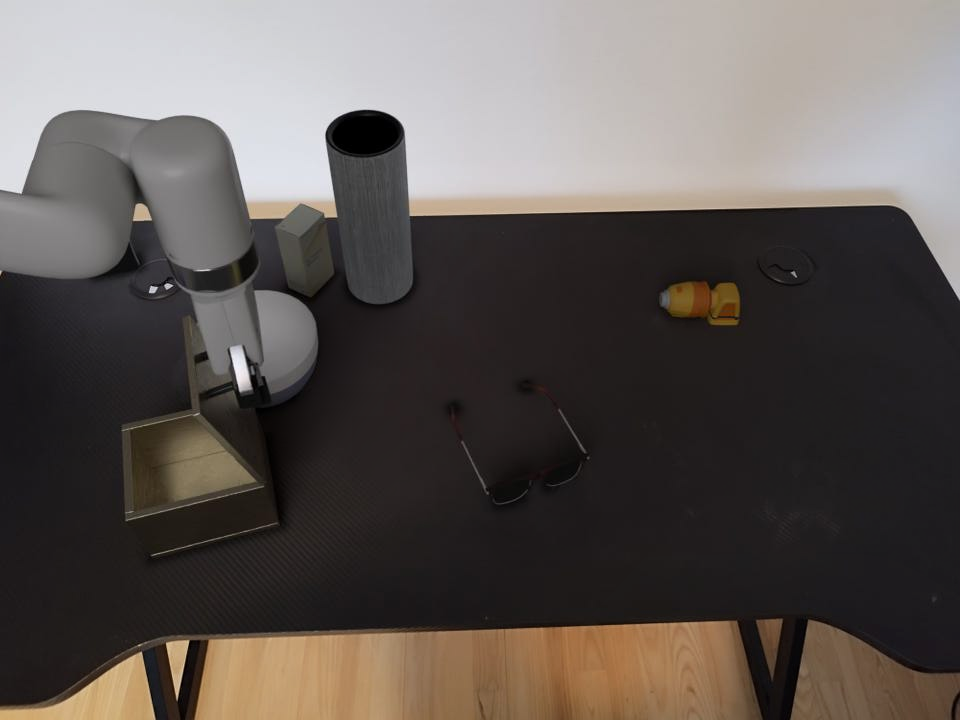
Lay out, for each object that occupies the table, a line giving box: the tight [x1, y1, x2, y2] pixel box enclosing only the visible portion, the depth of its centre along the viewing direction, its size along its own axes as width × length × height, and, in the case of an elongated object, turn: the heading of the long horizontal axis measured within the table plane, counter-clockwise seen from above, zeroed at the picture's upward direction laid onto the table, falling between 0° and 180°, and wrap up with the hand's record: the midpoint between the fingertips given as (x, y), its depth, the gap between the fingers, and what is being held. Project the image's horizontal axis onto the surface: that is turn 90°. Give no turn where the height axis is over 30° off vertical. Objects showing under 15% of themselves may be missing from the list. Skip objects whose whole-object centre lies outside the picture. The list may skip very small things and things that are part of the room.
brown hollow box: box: [121, 408, 281, 559], centre depth 94 cm, size 15×13×10 cm
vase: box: [324, 109, 414, 305], centre depth 110 cm, size 10×10×27 cm
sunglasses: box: [450, 382, 590, 505], centre depth 102 cm, size 14×16×5 cm
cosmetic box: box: [274, 202, 335, 298], centre depth 116 cm, size 6×4×12 cm
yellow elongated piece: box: [658, 280, 741, 326], centre depth 117 cm, size 5×6×12 cm
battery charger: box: [95, 238, 140, 278], centre depth 117 cm, size 7×4×11 cm, turn 109°
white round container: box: [196, 289, 319, 409], centre depth 105 cm, size 16×16×10 cm
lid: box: [182, 315, 267, 485], centre depth 85 cm, size 16×13×5 cm
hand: (251, 377), depth 83 cm, fingers closed on lid, 6 cm apart
